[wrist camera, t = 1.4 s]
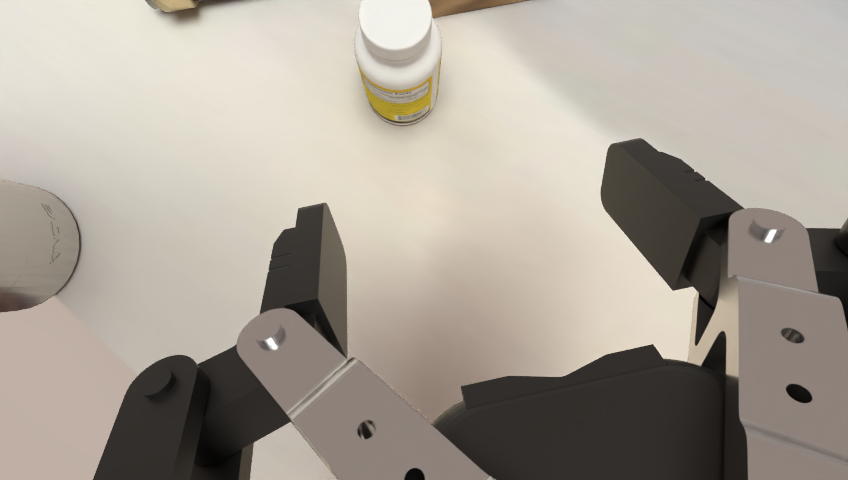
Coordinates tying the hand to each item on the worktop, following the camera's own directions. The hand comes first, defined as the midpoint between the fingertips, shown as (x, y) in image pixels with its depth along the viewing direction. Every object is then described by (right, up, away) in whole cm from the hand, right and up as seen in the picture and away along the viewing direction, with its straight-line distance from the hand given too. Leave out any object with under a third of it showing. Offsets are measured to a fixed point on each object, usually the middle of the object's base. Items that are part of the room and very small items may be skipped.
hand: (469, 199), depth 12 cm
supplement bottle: (-3, +10, +20) cm, 23 cm away
